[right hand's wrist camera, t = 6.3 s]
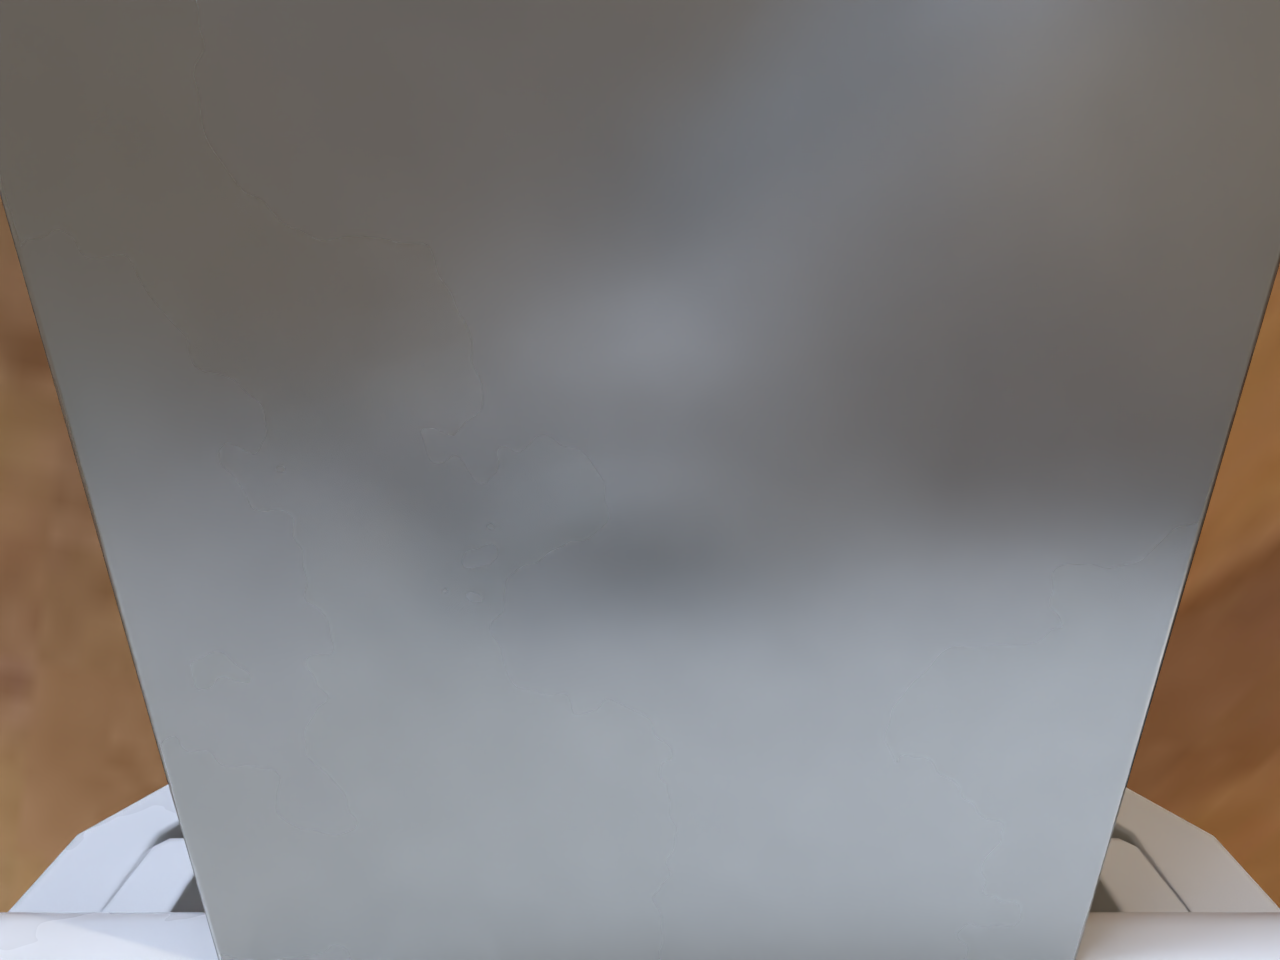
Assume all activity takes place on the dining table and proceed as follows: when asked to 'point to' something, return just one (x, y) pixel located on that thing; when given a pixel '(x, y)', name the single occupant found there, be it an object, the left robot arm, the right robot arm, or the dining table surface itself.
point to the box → (646, 446)
